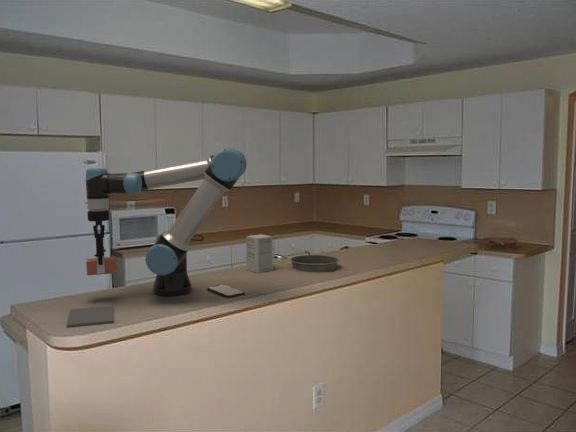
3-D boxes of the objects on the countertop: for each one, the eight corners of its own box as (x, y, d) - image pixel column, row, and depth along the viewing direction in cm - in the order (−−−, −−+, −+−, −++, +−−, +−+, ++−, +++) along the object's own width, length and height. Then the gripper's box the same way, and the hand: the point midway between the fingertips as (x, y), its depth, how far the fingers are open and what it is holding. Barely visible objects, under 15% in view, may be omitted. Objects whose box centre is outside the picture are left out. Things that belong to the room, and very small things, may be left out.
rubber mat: (112, 307, 180) (112, 305, 180) (113, 322, 164) (113, 320, 164) (70, 311, 176) (70, 309, 176) (66, 327, 159) (66, 325, 159)
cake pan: (316, 261, 270) (316, 252, 270) (349, 269, 251) (349, 260, 251) (279, 266, 255) (279, 258, 255) (312, 275, 236) (312, 266, 236)
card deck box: (115, 269, 194) (114, 256, 194) (115, 273, 188) (115, 259, 187) (87, 271, 190) (86, 258, 190) (87, 275, 184) (86, 261, 184)
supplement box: (261, 267, 252) (261, 234, 250) (273, 270, 245) (273, 236, 244) (245, 270, 246) (245, 235, 244) (257, 273, 239) (257, 238, 237)
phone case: (246, 296, 200) (223, 287, 212) (246, 292, 200) (223, 284, 212) (227, 300, 194) (205, 291, 206) (227, 296, 194) (205, 287, 206)
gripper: (88, 208, 195) (91, 267, 197) (86, 212, 176) (89, 277, 179) (108, 207, 197) (111, 265, 200) (109, 211, 179) (112, 275, 181)
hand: (101, 271), depth 189 cm, fingers closed on card deck box, 6 cm apart
